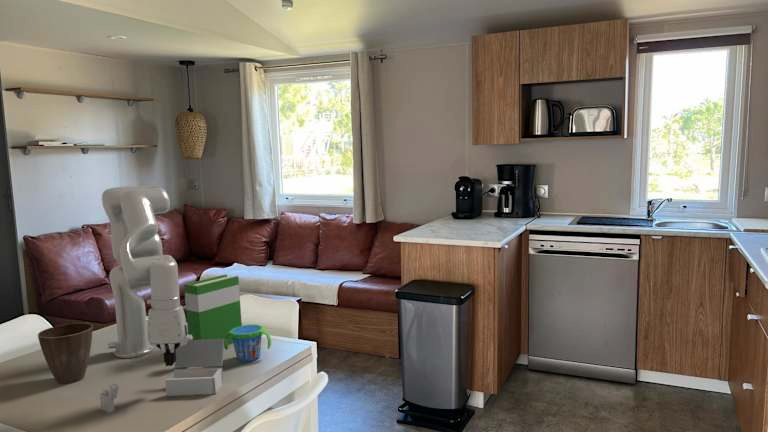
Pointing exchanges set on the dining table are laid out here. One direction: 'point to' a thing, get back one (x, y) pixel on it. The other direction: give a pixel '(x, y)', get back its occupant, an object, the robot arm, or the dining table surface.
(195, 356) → the cover
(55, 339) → the plant pot
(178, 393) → the open box
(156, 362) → the dining table surface
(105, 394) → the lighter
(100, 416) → the dining table surface
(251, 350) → the snack cup
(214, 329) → the hardback book
